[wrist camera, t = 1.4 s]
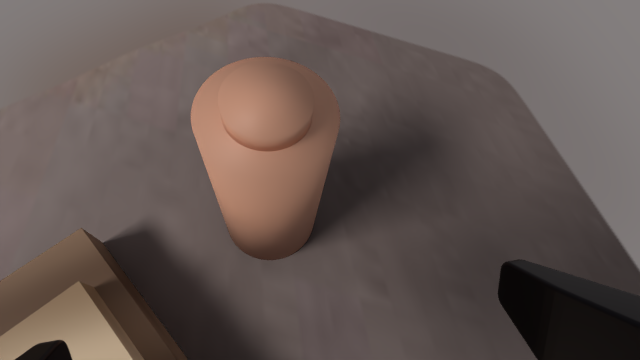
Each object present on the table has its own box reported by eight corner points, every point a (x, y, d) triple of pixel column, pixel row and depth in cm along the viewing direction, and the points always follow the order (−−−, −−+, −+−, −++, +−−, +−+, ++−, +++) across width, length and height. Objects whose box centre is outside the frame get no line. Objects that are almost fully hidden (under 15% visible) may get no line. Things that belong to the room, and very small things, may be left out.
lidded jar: (331, 221, 23) (374, 107, 13) (265, 279, 21) (255, 198, 11) (276, 164, 24) (275, 20, 14) (209, 213, 22) (153, 87, 12)
